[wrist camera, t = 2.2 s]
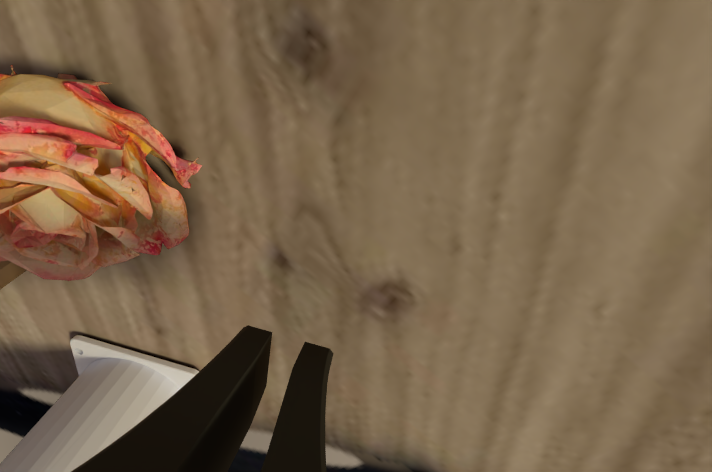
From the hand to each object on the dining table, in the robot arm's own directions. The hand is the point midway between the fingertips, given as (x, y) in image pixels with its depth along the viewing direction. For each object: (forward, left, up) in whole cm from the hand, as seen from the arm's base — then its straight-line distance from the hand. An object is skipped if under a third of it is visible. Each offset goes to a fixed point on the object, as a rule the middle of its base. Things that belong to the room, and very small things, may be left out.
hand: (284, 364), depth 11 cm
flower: (0, +10, -9) cm, 13 cm away
